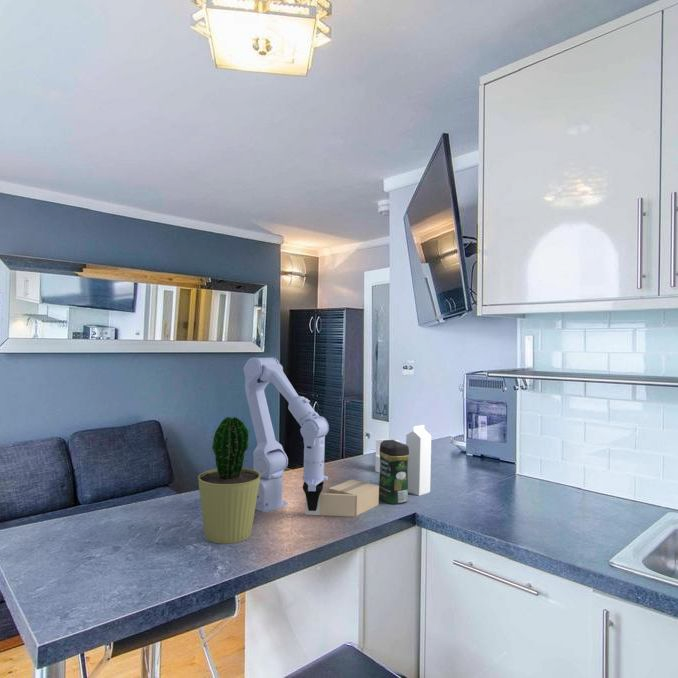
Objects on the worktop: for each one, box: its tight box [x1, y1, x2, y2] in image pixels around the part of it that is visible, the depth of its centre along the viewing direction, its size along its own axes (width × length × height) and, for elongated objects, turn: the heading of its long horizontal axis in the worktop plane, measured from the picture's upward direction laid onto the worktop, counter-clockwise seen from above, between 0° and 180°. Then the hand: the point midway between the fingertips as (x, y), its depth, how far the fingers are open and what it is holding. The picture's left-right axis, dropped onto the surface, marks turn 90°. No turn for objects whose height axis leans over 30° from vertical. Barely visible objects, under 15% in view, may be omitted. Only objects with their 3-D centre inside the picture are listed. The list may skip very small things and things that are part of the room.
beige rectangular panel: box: [304, 492, 356, 518], centre depth 134 cm, size 1×14×6 cm, turn 87°
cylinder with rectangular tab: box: [374, 437, 400, 474], centre depth 183 cm, size 9×9×12 cm
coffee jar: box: [378, 439, 409, 505], centre depth 149 cm, size 10×8×19 cm
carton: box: [328, 479, 380, 517], centre depth 142 cm, size 12×10×6 cm
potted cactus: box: [197, 416, 261, 545], centre depth 120 cm, size 15×15×30 cm
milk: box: [405, 424, 432, 497], centre depth 158 cm, size 6×6×22 cm
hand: (312, 509), depth 134 cm, fingers closed
